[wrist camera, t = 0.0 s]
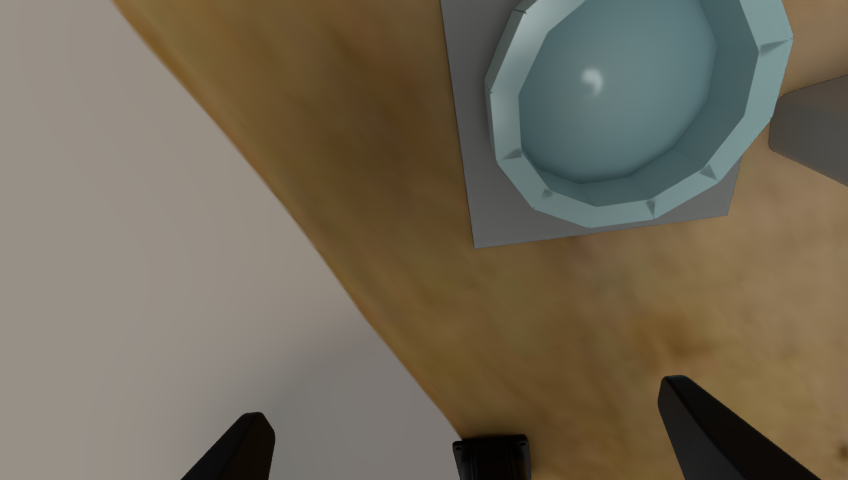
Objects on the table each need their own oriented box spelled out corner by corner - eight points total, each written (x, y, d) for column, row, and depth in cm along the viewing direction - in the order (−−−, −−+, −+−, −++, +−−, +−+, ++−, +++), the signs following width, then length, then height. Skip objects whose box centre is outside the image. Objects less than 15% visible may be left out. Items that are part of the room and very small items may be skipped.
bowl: (707, 178, 21) (747, 206, 18) (495, 209, 22) (503, 239, 20) (762, -88, 15) (832, -106, 12) (472, -25, 17) (478, -28, 14)
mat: (723, 212, 22) (727, 215, 22) (474, 245, 24) (474, 249, 24) (799, -110, 15) (808, -113, 15) (436, -30, 17) (436, -30, 16)
